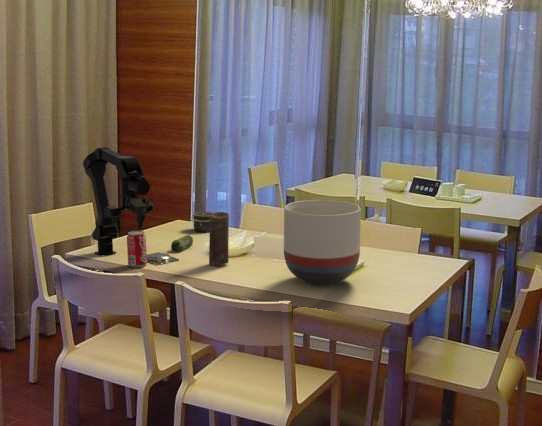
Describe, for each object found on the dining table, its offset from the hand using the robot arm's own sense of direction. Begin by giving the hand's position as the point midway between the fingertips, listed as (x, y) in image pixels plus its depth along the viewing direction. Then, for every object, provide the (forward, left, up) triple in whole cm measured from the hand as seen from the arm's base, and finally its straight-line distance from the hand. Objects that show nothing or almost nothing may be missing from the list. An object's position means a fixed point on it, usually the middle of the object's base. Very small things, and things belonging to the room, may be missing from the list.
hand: (129, 230), depth 314 cm
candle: (+24, +24, -13) cm, 37 cm away
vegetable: (-5, +28, -13) cm, 31 cm away
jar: (-25, +54, -13) cm, 61 cm away
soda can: (+5, 0, -13) cm, 14 cm away
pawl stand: (+2, +11, -13) cm, 17 cm away
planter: (+65, +38, -13) cm, 77 cm away
